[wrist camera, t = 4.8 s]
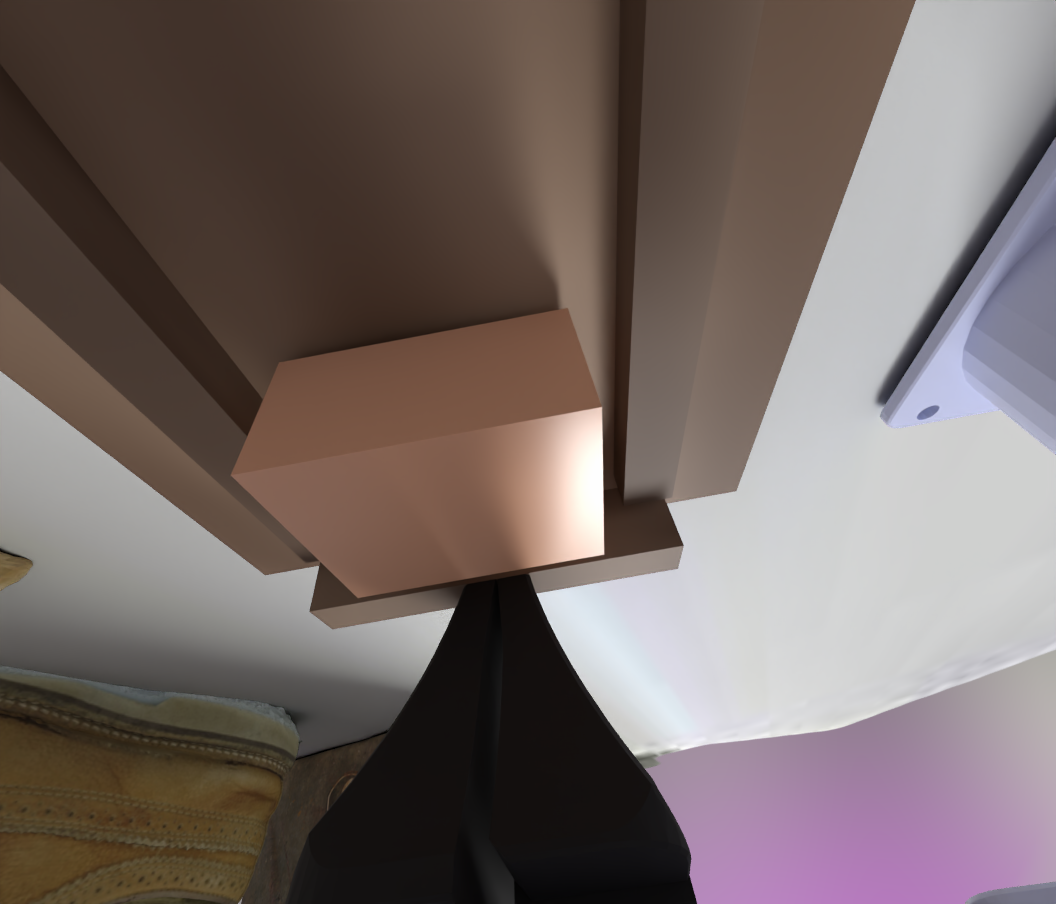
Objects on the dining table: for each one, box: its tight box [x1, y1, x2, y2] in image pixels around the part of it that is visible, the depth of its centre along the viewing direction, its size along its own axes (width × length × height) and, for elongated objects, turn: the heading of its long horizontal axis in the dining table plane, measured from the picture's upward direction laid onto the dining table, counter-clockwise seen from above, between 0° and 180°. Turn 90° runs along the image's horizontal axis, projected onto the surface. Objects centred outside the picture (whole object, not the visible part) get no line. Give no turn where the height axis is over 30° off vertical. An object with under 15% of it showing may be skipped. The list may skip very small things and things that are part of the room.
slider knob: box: [231, 308, 604, 598], centre depth 8 cm, size 5×4×2 cm
